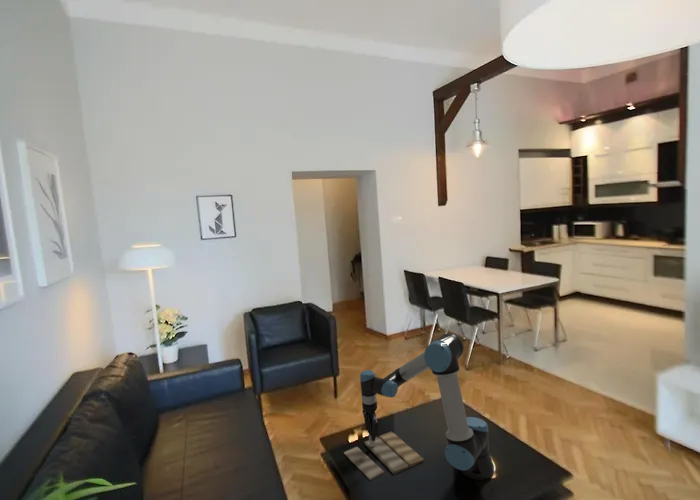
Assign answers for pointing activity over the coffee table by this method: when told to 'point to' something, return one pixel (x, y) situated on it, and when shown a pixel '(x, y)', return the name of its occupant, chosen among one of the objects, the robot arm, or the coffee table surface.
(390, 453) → the board
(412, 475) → the coffee table surface
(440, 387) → the robot arm
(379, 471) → the plank
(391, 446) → the laid board
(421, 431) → the coffee table surface
